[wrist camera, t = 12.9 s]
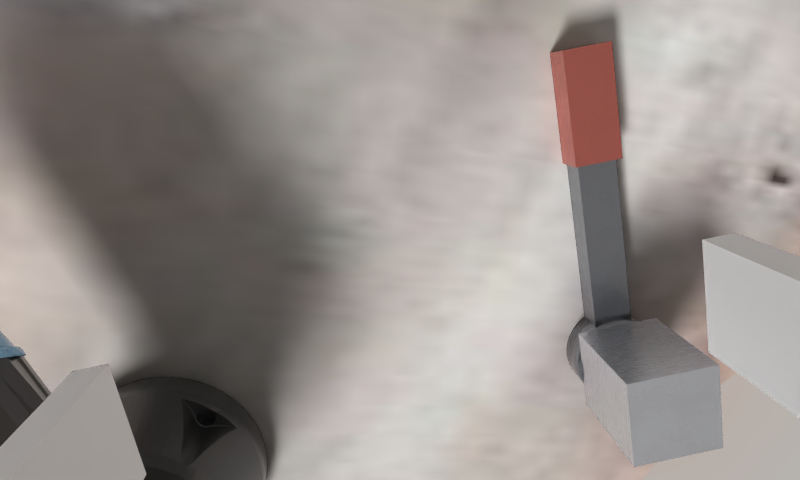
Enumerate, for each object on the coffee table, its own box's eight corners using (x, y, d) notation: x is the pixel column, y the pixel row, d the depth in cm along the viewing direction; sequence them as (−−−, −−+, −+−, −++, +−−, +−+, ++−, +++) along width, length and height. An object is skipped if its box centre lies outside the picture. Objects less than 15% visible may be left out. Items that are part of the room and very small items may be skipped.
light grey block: (578, 333, 45) (626, 384, 38) (655, 317, 46) (719, 365, 38) (586, 404, 47) (634, 466, 39) (660, 388, 47) (723, 447, 39)
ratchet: (571, 389, 50) (610, 441, 43) (529, 56, 43) (567, 50, 36) (646, 373, 50) (697, 422, 43) (616, 39, 43) (671, 30, 36)
